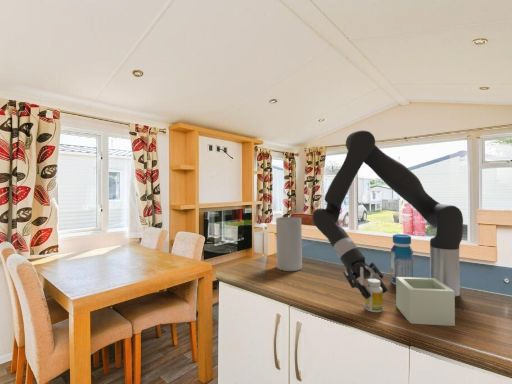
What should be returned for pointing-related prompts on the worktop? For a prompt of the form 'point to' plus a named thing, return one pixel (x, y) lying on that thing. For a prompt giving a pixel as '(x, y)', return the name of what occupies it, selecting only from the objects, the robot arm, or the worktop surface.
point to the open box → (425, 301)
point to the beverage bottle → (401, 257)
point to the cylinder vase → (289, 243)
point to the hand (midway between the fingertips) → (377, 294)
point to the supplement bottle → (374, 296)
